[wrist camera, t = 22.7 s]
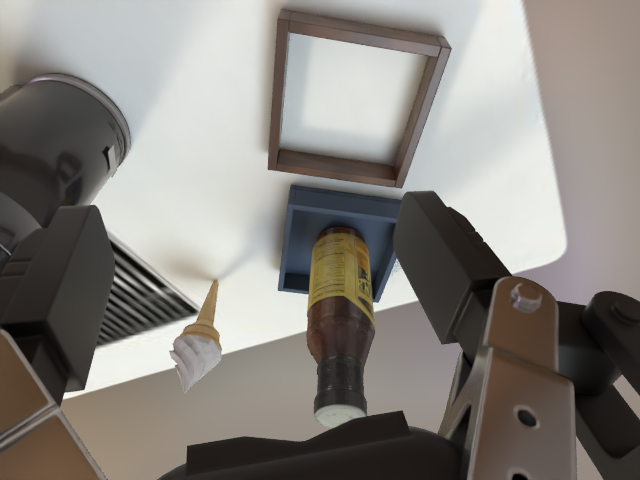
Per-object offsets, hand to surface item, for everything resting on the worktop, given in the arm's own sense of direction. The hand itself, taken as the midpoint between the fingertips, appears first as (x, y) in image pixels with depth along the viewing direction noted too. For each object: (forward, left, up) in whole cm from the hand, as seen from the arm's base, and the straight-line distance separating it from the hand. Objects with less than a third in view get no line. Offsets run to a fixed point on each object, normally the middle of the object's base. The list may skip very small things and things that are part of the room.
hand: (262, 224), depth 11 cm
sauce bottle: (+7, -23, -25) cm, 34 cm away
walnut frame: (+4, -7, -25) cm, 26 cm away
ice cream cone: (-8, -33, -25) cm, 43 cm away
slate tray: (+6, -23, -25) cm, 35 cm away
